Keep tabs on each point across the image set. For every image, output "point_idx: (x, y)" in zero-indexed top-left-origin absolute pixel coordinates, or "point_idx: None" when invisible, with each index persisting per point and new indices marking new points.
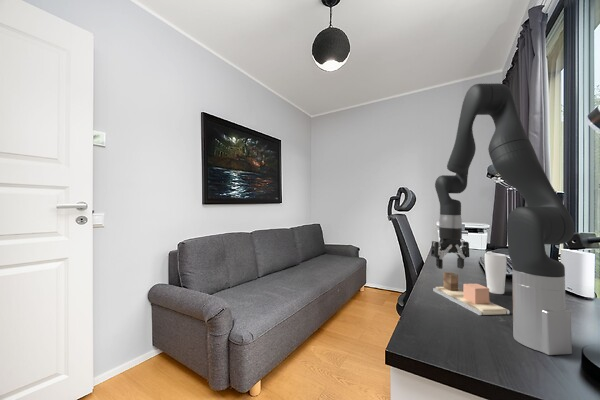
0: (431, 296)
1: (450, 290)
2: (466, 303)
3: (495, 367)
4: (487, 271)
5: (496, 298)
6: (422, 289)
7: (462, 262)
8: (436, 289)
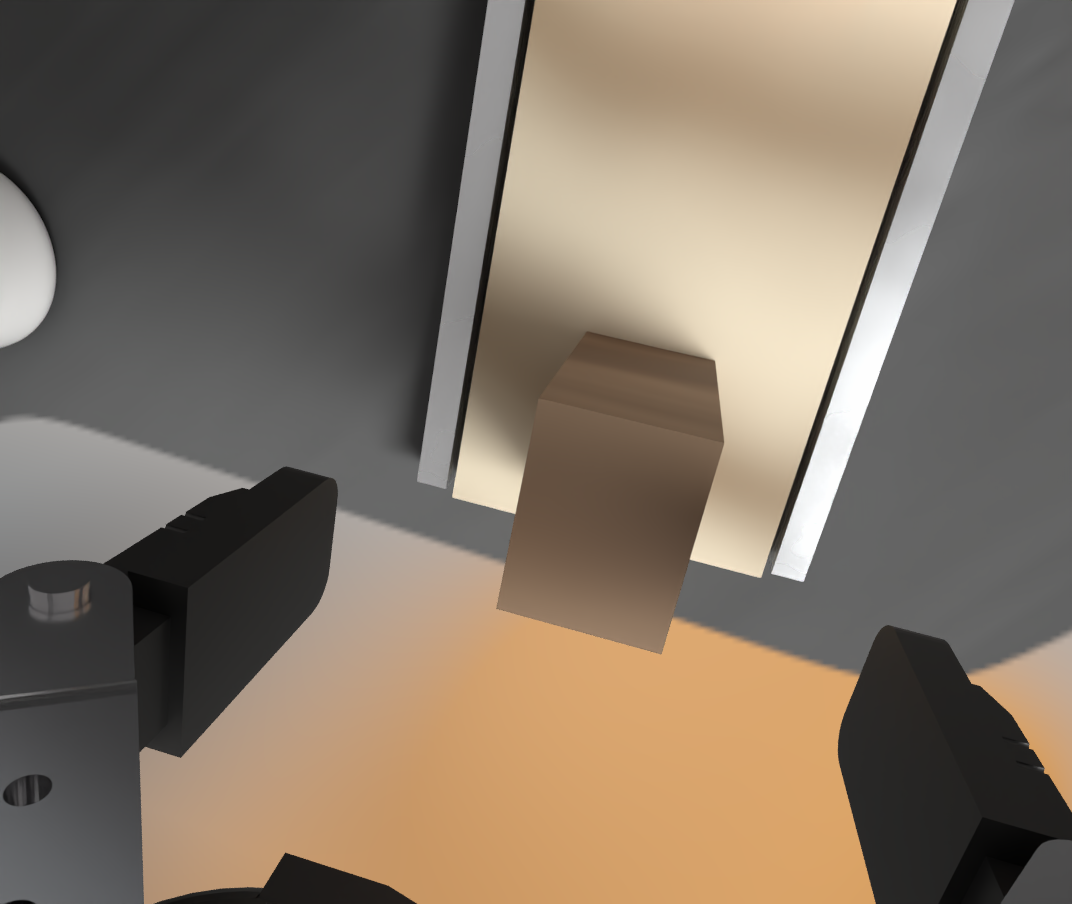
0: (1068, 401)
1: (715, 367)
2: None
3: None
4: None
5: (167, 56)
6: None
7: (217, 532)
8: (822, 516)
